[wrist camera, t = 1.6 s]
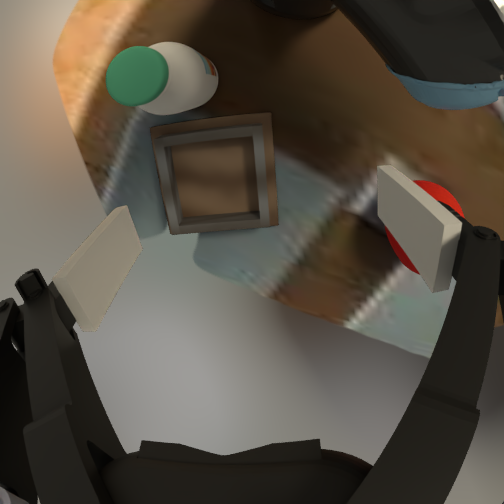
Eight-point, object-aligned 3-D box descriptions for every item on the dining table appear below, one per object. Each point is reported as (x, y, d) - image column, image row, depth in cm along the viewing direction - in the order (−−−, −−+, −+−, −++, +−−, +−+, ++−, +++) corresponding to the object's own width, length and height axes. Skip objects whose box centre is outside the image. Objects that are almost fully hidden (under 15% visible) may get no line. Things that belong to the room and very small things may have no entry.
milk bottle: (226, 97, 36) (201, 104, 18) (171, 116, 37) (105, 144, 19) (209, 45, 32) (167, 8, 15) (154, 66, 33) (74, 56, 16)
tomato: (368, 251, 47) (394, 294, 37) (378, 168, 40) (414, 196, 30) (430, 248, 47) (463, 286, 37) (445, 172, 40) (487, 199, 30)
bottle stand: (152, 127, 37) (142, 131, 34) (270, 112, 36) (272, 114, 33) (171, 231, 45) (165, 243, 42) (278, 222, 45) (280, 234, 41)
